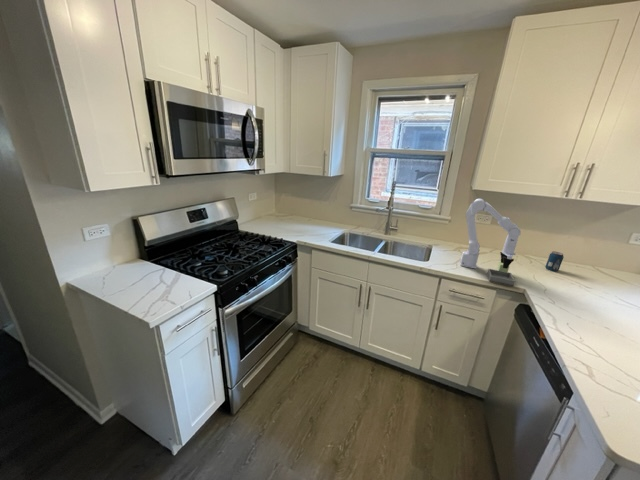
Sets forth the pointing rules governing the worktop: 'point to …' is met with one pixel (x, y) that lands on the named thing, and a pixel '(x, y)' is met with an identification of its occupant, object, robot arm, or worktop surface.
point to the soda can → (554, 261)
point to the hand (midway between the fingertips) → (503, 265)
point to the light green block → (500, 267)
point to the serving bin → (500, 277)
